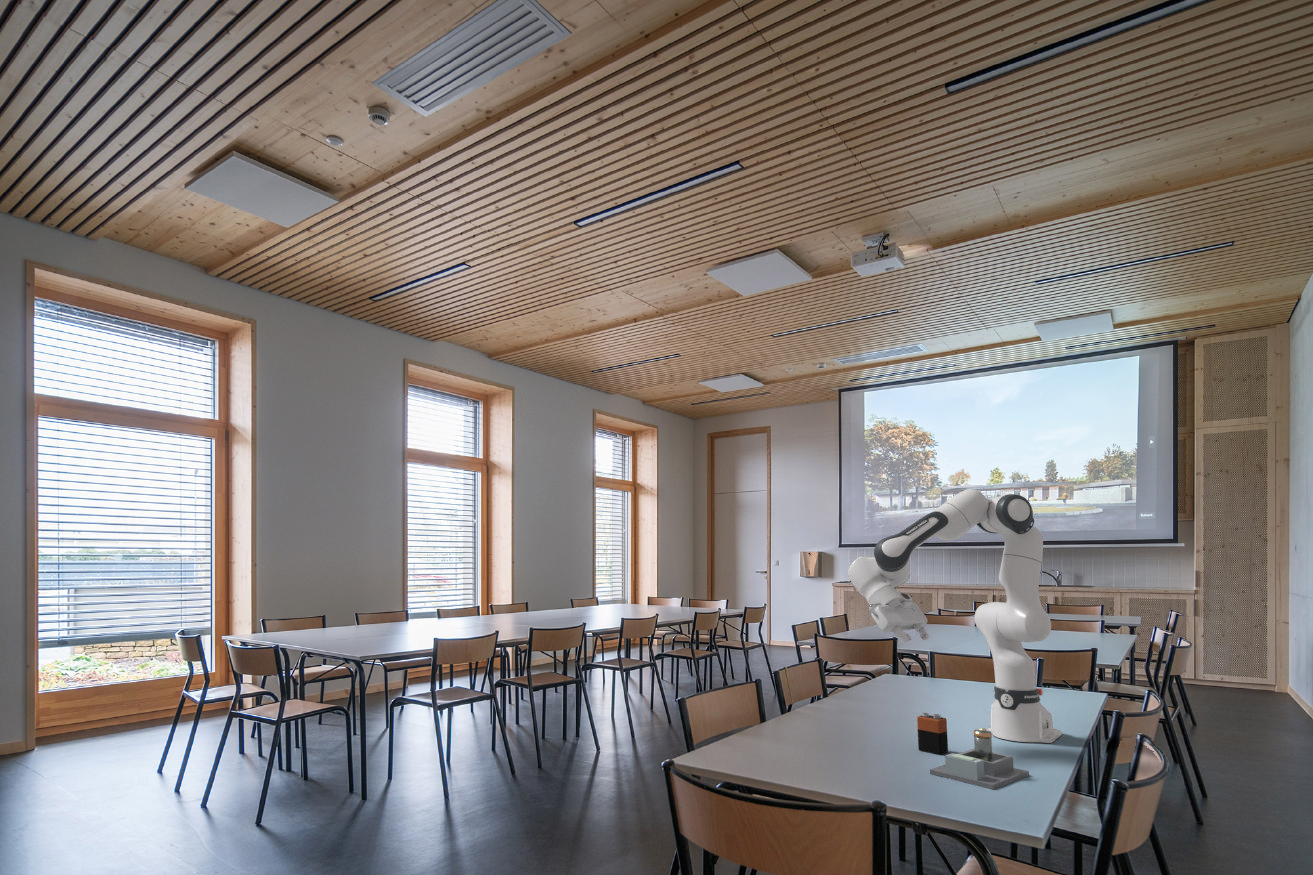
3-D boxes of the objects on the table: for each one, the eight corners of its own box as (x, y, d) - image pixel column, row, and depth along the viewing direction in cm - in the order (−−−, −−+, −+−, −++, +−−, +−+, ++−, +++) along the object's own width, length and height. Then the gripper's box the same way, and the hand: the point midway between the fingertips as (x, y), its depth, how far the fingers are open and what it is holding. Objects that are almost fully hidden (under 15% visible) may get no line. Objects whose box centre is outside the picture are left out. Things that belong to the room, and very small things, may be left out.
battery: (941, 755, 204) (939, 716, 206) (917, 750, 209) (916, 712, 211) (948, 752, 207) (946, 714, 208) (925, 747, 212) (923, 710, 213)
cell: (980, 764, 191) (979, 726, 193) (996, 768, 188) (994, 729, 189) (971, 766, 189) (970, 728, 190) (987, 770, 185) (985, 731, 187)
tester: (967, 761, 198) (966, 740, 199) (1029, 775, 186) (1027, 753, 187) (930, 773, 187) (929, 751, 188) (993, 789, 175) (991, 765, 176)
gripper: (872, 597, 218) (903, 634, 209) (912, 594, 231) (943, 630, 222) (860, 611, 221) (890, 649, 212) (900, 608, 234) (930, 644, 225)
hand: (917, 639), depth 217 cm, fingers open, 8 cm apart
